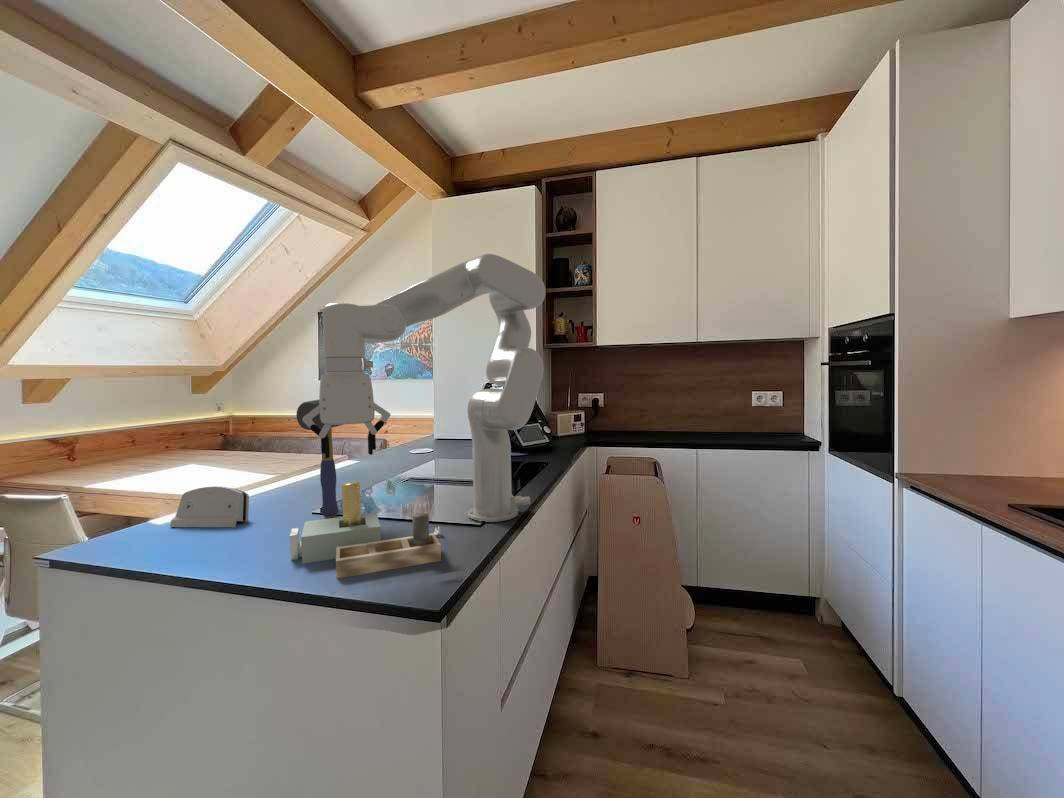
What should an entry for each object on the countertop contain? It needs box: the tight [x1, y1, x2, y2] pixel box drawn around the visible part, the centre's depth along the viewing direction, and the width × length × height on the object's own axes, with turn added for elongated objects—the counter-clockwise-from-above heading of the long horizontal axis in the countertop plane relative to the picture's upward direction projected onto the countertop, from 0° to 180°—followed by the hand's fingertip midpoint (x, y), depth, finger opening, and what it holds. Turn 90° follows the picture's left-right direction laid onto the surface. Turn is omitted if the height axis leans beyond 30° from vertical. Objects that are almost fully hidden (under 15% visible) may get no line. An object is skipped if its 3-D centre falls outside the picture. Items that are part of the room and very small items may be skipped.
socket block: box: [300, 512, 382, 565], centre depth 95 cm, size 14×10×6 cm
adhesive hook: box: [433, 526, 441, 538], centre depth 101 cm, size 3×3×3 cm
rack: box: [335, 512, 442, 579], centre depth 87 cm, size 18×7×9 cm, turn 112°
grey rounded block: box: [169, 486, 250, 528], centre depth 116 cm, size 17×5×10 cm, turn 88°
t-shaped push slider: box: [289, 527, 302, 561], centre depth 93 cm, size 8×4×5 cm, turn 112°
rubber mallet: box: [296, 399, 345, 519], centre depth 118 cm, size 12×8×30 cm, turn 159°
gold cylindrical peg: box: [341, 481, 362, 527], centre depth 95 cm, size 3×3×13 cm
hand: (349, 454), depth 94 cm, fingers open, 7 cm apart
